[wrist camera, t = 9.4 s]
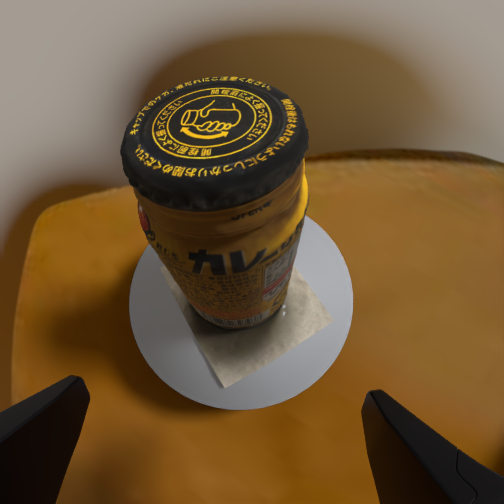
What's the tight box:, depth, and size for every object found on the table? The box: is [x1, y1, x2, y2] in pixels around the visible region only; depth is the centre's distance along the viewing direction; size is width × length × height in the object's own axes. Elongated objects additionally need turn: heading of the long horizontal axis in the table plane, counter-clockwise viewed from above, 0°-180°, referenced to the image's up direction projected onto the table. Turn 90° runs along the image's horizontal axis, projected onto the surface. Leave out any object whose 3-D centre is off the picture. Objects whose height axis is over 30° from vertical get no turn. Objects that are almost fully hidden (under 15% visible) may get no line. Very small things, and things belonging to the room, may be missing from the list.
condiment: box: [120, 76, 334, 388], centre depth 12 cm, size 7×8×12 cm
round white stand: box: [129, 215, 353, 410], centre depth 19 cm, size 14×14×4 cm
